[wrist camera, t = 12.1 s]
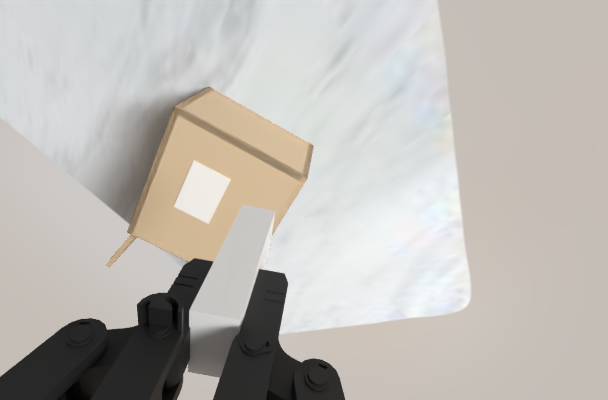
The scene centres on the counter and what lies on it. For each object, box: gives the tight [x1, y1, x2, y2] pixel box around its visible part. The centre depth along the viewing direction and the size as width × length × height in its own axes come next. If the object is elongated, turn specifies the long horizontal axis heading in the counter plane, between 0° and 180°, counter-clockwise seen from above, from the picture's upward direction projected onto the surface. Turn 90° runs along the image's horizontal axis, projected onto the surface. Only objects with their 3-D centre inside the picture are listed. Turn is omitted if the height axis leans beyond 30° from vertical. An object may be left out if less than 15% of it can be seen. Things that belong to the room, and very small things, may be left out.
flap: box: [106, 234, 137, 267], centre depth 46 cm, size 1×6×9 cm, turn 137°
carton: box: [127, 87, 314, 262], centre depth 42 cm, size 16×14×10 cm
